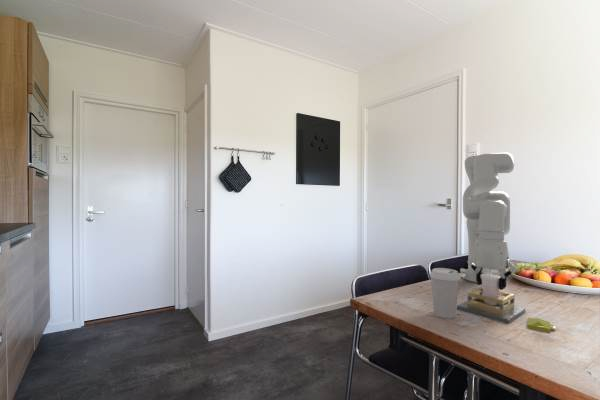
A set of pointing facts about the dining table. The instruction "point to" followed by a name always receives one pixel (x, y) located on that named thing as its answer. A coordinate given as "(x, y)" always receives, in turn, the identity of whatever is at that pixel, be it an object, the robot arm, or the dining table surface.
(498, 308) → the collar stand
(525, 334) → the dining table surface
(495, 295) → the smoothie
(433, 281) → the coffee cup
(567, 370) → the dining table surface
